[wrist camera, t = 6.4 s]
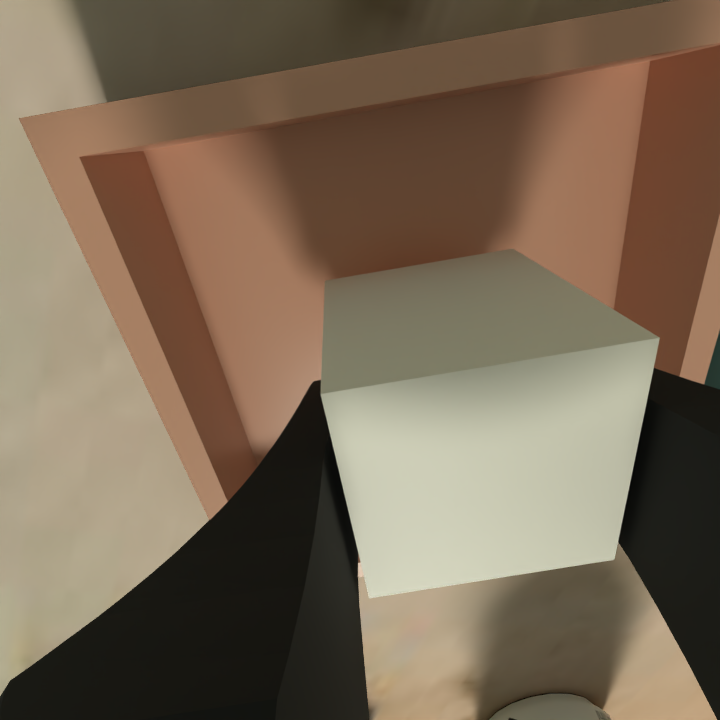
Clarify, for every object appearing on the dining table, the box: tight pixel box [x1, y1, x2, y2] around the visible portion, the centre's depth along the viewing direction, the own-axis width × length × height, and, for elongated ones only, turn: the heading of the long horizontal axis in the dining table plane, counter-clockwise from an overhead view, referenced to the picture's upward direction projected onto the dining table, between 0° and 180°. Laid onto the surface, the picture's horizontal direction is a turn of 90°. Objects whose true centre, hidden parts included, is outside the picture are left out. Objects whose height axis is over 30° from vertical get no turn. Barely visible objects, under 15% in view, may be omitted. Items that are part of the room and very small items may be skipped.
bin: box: [19, 0, 720, 577], centre depth 12 cm, size 13×13×4 cm
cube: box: [321, 249, 660, 598], centre depth 9 cm, size 4×4×5 cm
